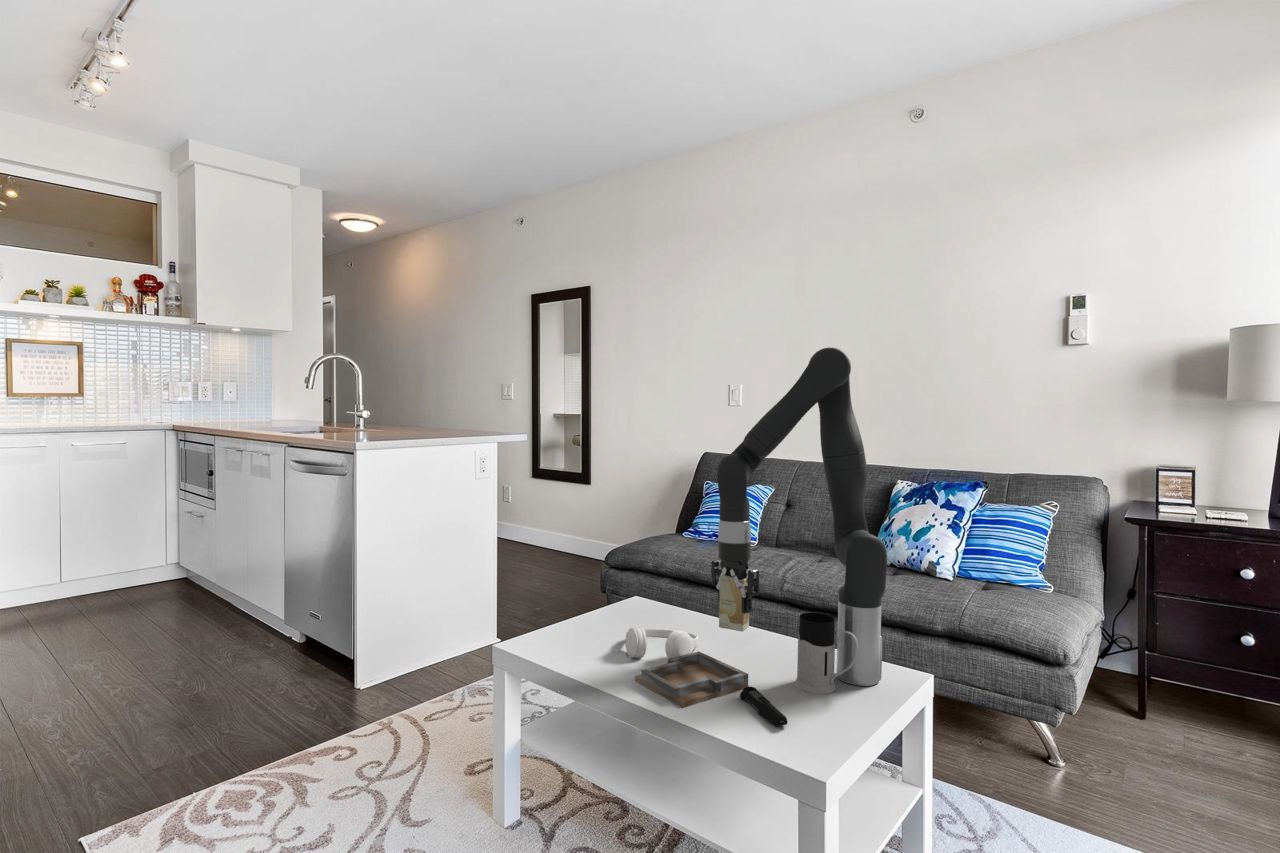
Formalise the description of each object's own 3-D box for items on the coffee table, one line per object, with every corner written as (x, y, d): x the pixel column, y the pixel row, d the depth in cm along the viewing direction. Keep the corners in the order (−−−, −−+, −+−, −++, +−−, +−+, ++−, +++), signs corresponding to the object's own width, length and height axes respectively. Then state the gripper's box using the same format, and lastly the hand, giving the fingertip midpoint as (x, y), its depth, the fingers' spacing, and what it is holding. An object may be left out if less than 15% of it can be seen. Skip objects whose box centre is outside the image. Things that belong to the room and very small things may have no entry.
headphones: (694, 634, 156) (701, 622, 176) (617, 628, 160) (632, 617, 179) (693, 666, 155) (700, 650, 175) (616, 659, 159) (631, 645, 178)
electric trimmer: (774, 733, 125) (774, 717, 125) (738, 698, 140) (738, 683, 139) (792, 731, 126) (792, 715, 126) (754, 697, 141) (755, 682, 141)
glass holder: (809, 674, 153) (811, 609, 153) (866, 694, 142) (868, 624, 142) (786, 684, 147) (788, 616, 147) (844, 705, 137) (846, 632, 136)
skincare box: (718, 628, 157) (718, 576, 157) (725, 623, 161) (724, 572, 160) (744, 632, 154) (744, 579, 154) (750, 627, 158) (750, 575, 157)
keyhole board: (698, 663, 158) (698, 651, 158) (748, 687, 145) (748, 673, 145) (635, 680, 147) (635, 666, 147) (682, 707, 134) (682, 692, 134)
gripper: (768, 542, 153) (768, 613, 154) (725, 533, 165) (725, 599, 165) (744, 545, 149) (744, 619, 149) (702, 536, 161) (702, 604, 161)
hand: (734, 608), depth 157 cm, fingers closed on skincare box, 7 cm apart
